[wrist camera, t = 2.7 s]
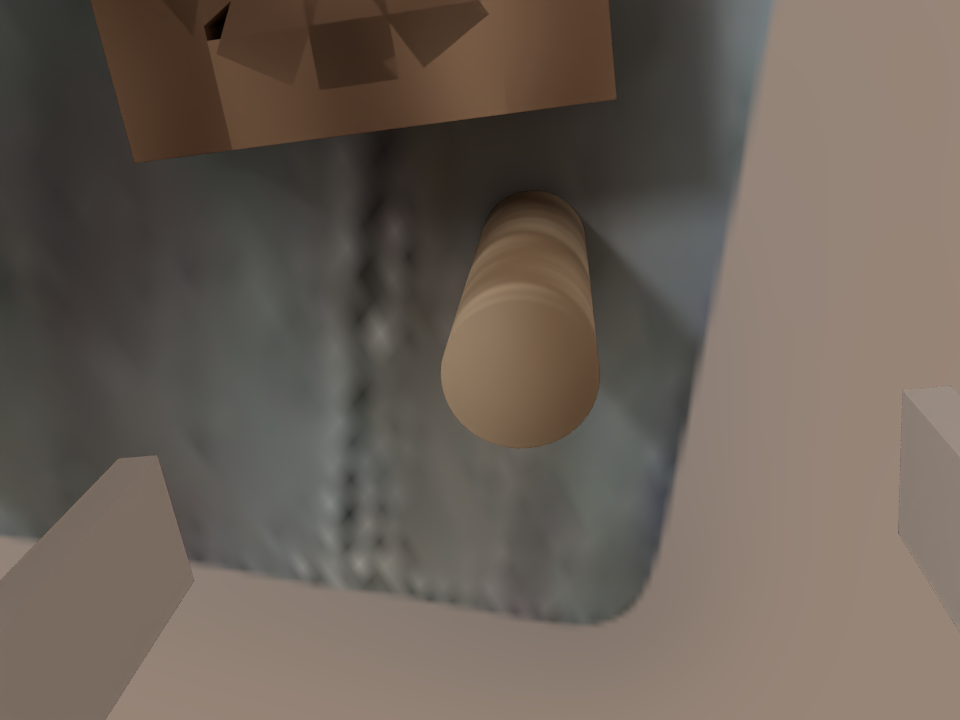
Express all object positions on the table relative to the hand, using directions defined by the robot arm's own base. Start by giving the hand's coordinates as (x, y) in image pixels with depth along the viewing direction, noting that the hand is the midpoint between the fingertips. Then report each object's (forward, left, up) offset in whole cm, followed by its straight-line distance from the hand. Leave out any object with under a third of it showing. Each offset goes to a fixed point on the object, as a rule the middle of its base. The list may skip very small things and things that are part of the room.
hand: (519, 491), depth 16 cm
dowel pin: (0, 0, -17) cm, 17 cm away
